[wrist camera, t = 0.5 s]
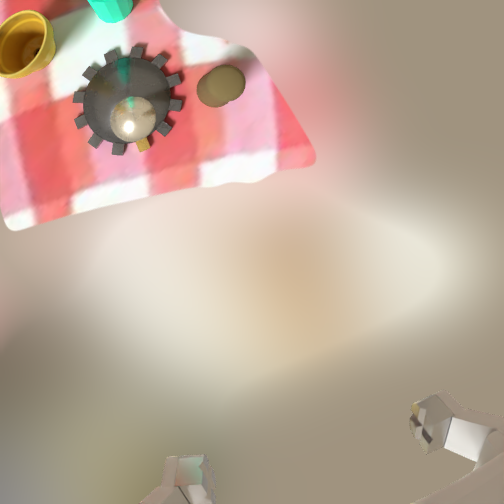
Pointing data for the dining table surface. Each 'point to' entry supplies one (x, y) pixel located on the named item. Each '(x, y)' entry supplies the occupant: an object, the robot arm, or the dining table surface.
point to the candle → (112, 9)
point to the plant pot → (25, 44)
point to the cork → (221, 86)
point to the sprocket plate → (127, 100)
